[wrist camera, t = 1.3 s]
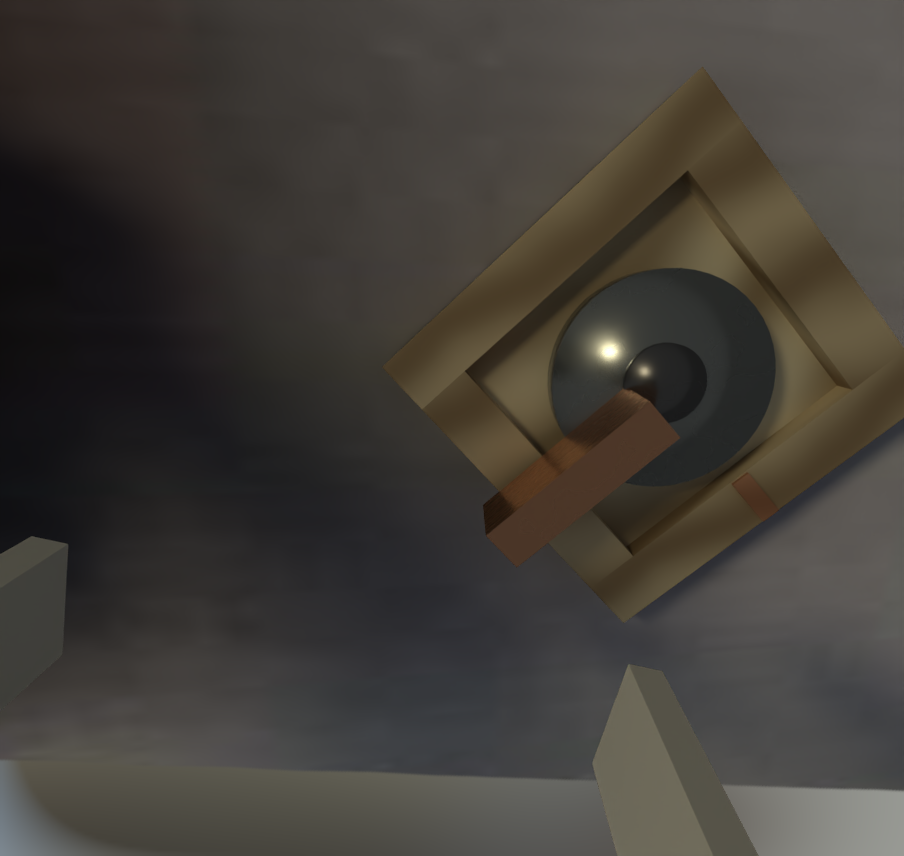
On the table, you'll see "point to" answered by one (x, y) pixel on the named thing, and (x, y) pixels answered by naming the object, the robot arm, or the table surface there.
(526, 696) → the table surface
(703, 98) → the panel
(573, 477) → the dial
